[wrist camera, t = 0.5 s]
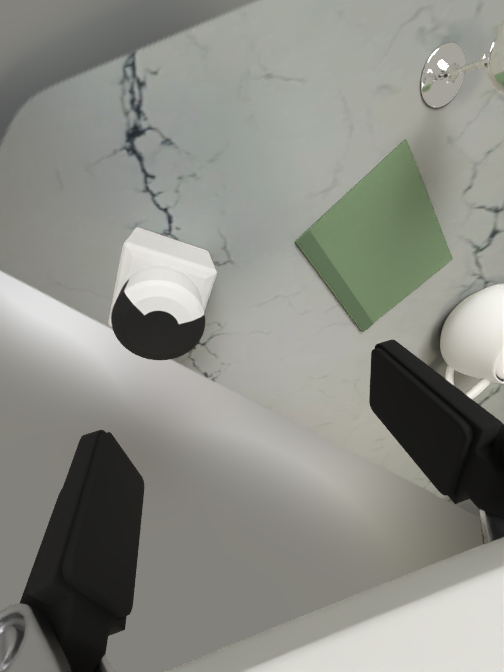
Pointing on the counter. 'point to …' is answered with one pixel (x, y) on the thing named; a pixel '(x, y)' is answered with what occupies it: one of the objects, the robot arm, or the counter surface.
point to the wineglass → (459, 70)
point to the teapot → (476, 338)
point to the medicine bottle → (160, 295)
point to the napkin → (378, 240)
